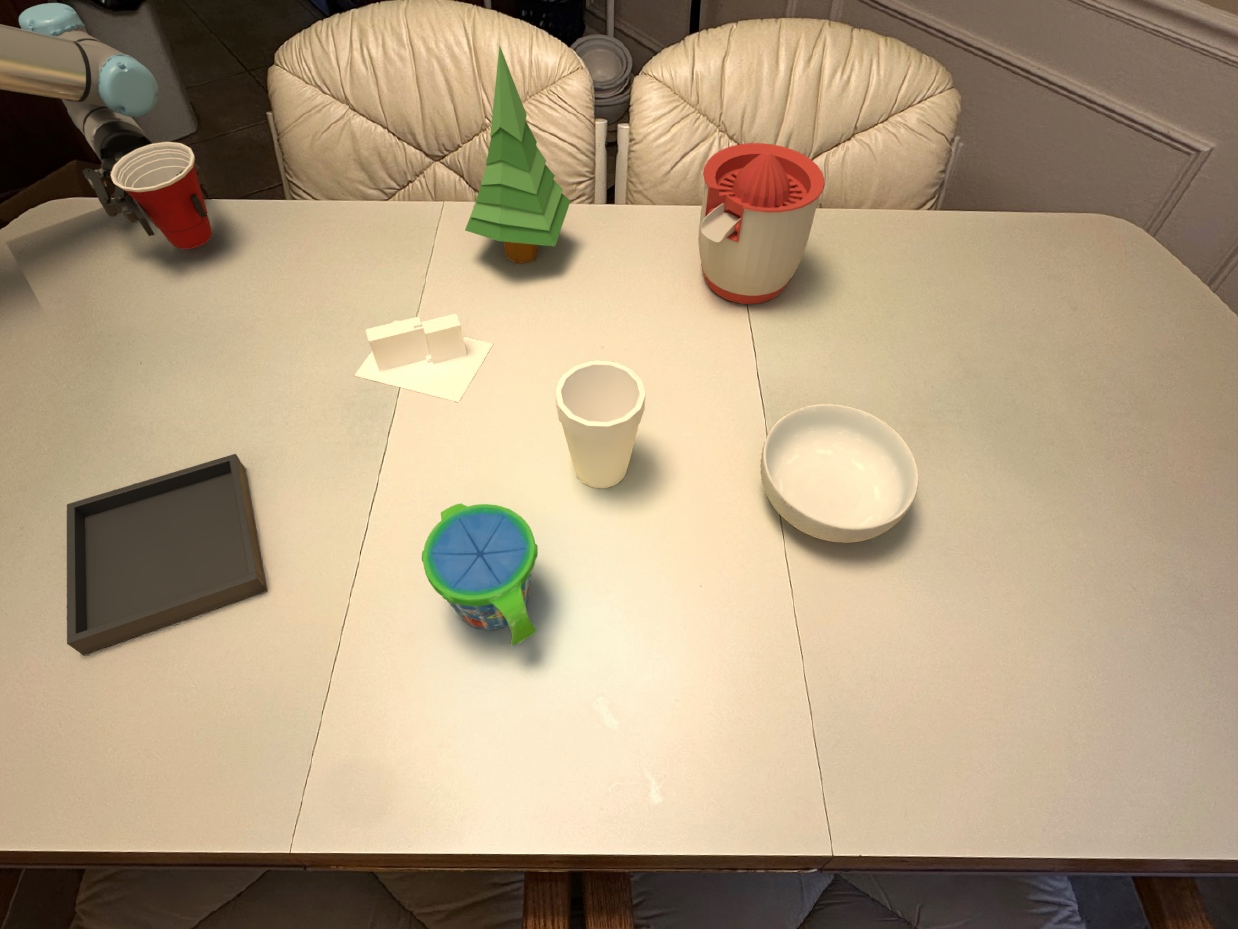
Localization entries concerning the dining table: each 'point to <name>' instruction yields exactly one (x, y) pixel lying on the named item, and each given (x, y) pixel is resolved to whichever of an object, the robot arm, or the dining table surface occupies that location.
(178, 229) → the plastic cup
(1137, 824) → the dining table surface
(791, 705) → the dining table surface
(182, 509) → the tray
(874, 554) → the dining table surface
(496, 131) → the decorative tree
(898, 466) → the cereal bowl
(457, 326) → the napkin holder
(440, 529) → the snack cup
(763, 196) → the citrus juicer
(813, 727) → the dining table surface
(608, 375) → the foam cup
